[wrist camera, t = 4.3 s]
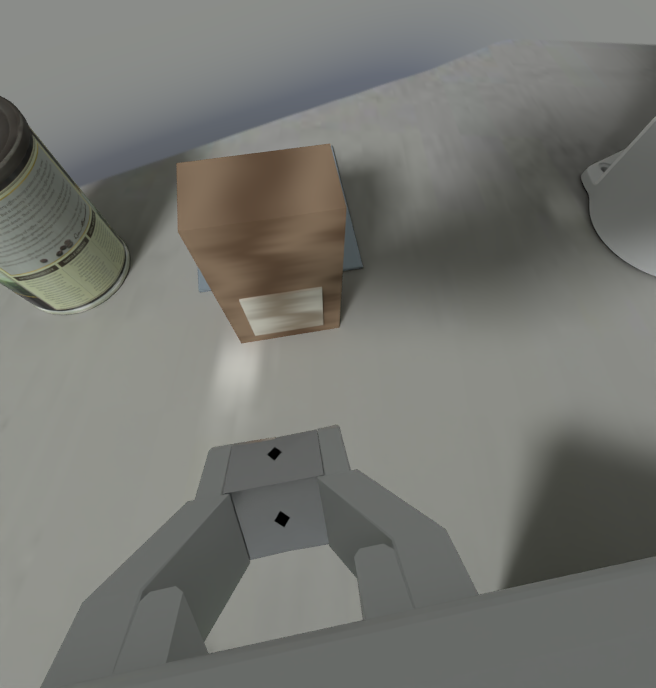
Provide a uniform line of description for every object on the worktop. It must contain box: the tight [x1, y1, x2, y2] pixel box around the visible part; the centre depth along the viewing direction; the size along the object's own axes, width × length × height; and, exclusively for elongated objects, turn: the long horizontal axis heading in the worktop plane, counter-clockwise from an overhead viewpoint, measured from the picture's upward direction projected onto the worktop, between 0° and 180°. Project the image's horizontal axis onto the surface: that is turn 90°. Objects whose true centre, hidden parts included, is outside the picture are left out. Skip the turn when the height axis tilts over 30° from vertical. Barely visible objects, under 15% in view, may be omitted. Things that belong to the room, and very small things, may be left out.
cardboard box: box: [177, 144, 347, 343], centre depth 27 cm, size 9×5×15 cm, turn 100°
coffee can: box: [0, 96, 130, 315], centre depth 29 cm, size 10×10×14 cm
